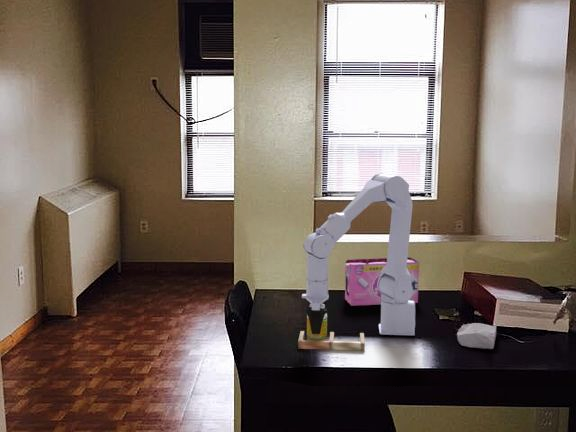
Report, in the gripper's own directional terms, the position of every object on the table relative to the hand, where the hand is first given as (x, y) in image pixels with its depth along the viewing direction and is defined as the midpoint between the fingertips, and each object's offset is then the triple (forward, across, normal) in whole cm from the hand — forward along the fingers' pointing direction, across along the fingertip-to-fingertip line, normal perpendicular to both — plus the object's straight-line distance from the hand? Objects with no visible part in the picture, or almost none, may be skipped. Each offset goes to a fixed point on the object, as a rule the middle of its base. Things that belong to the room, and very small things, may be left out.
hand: (316, 328), depth 170 cm
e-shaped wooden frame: (+3, +2, +4) cm, 5 cm away
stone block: (+4, -5, +43) cm, 43 cm away
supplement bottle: (+4, -1, 0) cm, 4 cm away
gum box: (+4, -40, +19) cm, 44 cm away
